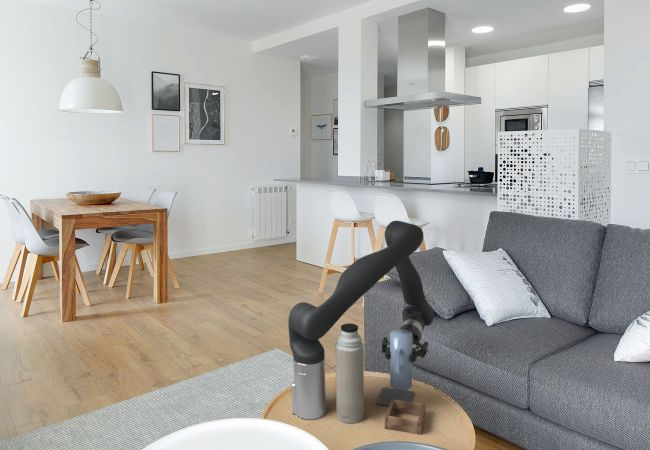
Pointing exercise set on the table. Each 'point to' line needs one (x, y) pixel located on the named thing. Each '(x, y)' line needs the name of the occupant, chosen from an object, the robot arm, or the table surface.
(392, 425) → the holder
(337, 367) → the thermos bottle
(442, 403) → the table surface
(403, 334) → the jug
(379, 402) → the mat
